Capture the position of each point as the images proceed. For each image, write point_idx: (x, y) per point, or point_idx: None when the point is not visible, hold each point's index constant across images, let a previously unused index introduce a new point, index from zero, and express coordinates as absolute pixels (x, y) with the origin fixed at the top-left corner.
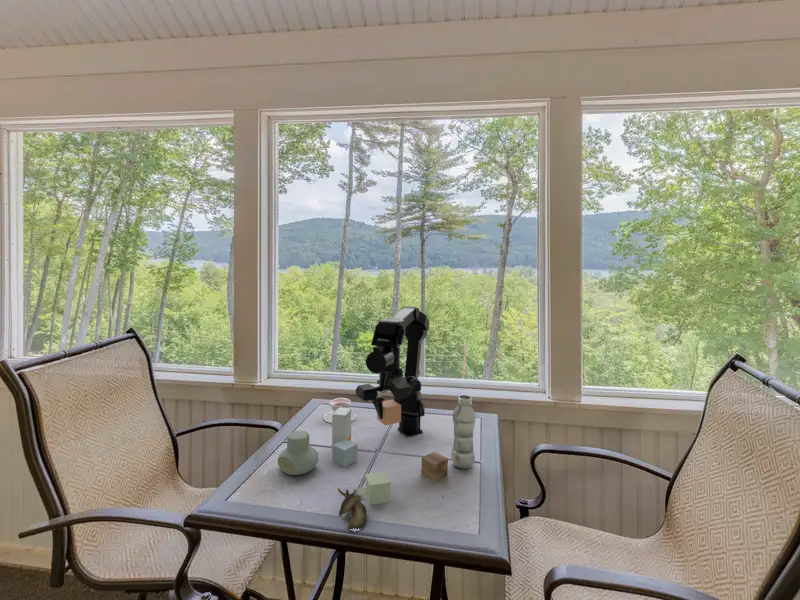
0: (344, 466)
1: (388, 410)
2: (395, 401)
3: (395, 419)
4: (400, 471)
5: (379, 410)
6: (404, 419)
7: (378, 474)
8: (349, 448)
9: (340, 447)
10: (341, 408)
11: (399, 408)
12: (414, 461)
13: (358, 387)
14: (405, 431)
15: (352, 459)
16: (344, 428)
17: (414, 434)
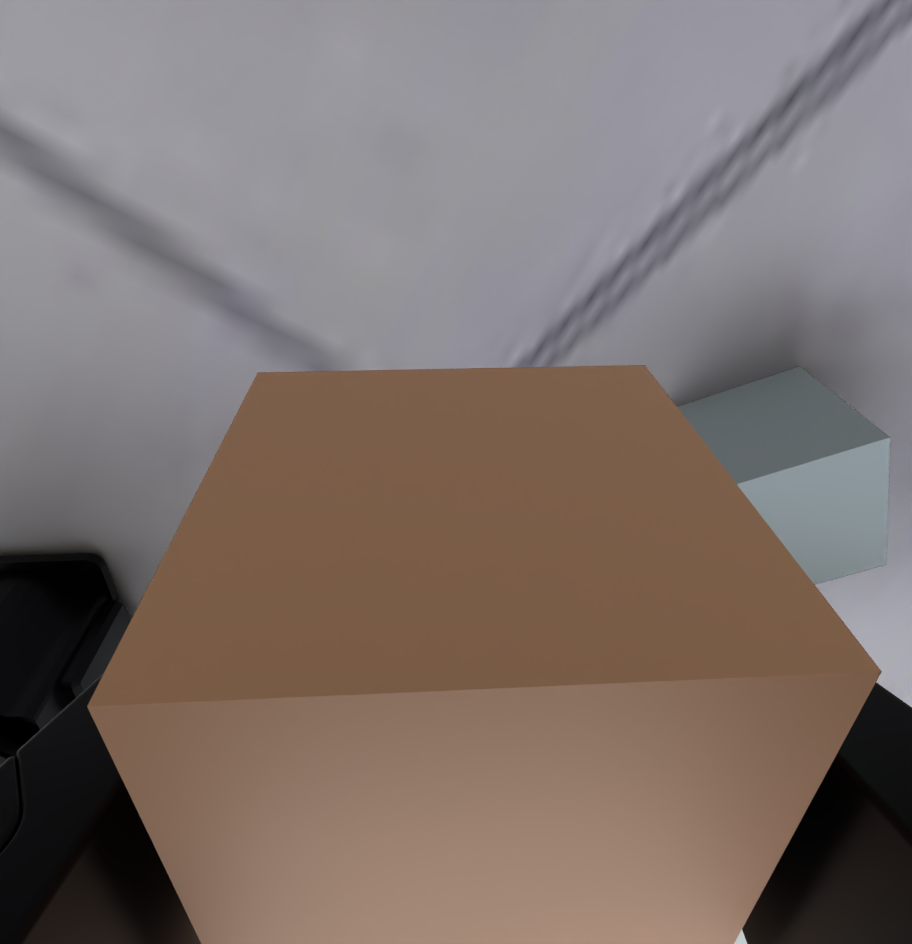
0: (801, 369)
1: (706, 590)
2: (185, 941)
3: (399, 408)
4: (430, 16)
5: (888, 695)
6: (53, 699)
7: None
8: (817, 455)
9: (875, 498)
10: (744, 938)
11: (215, 599)
12: (196, 131)
13: None
14: (94, 603)
15: (721, 409)
16: None
17: (22, 556)
